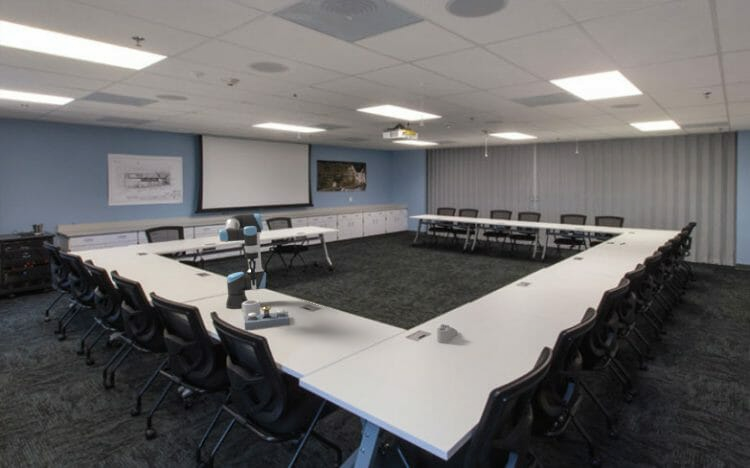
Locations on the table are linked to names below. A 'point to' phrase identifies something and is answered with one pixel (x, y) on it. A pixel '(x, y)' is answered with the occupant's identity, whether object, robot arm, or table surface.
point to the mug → (251, 307)
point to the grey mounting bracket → (445, 333)
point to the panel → (266, 321)
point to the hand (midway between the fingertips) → (254, 289)
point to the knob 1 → (252, 316)
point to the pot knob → (266, 311)
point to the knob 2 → (280, 313)
